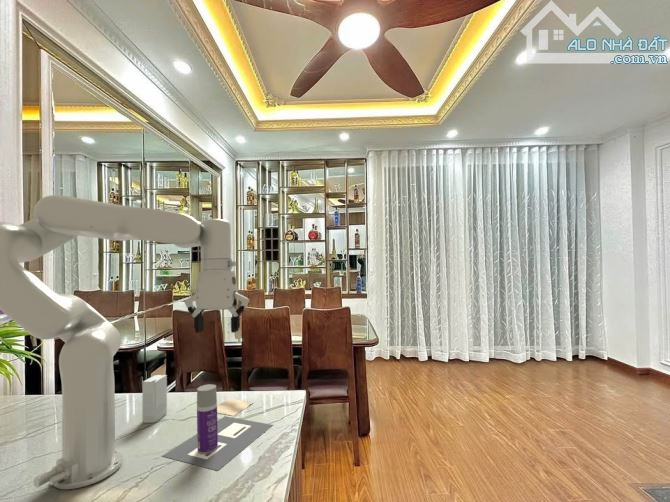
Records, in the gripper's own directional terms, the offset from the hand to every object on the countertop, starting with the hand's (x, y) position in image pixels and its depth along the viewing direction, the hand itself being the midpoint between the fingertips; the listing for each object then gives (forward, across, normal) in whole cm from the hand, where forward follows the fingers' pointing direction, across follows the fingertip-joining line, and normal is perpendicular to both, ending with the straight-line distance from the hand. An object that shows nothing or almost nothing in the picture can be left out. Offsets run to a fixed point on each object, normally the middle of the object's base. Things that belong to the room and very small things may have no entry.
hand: (217, 331), depth 87 cm
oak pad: (+28, +6, -20) cm, 35 cm away
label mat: (+28, 0, -1) cm, 28 cm away
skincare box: (+28, +26, -12) cm, 40 cm away
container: (+28, +1, +4) cm, 29 cm away
